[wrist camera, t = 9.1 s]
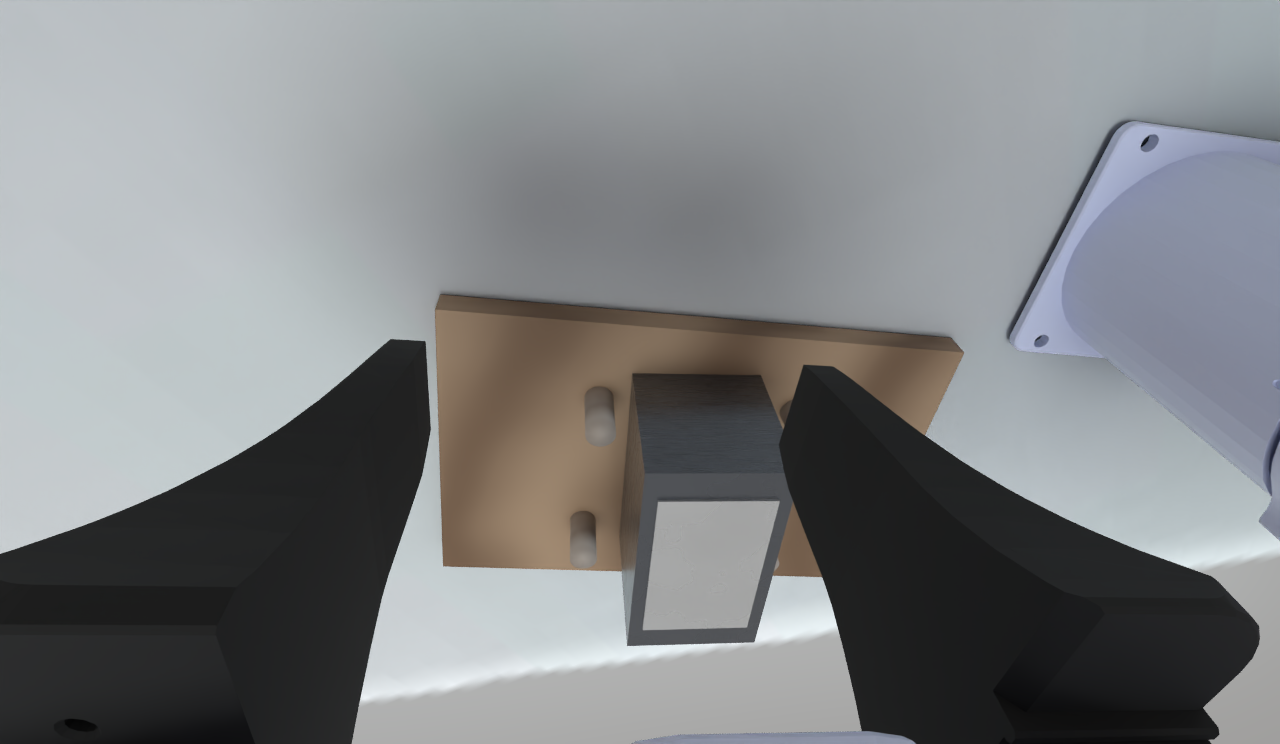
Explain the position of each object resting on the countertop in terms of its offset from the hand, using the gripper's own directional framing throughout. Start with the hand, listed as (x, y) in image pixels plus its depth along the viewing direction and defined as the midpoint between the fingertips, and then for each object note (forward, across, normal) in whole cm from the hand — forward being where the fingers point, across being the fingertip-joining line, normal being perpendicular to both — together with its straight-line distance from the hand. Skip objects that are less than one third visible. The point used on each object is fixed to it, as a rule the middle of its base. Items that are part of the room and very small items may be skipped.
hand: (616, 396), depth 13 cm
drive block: (+8, -4, +9) cm, 13 cm away
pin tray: (+9, -4, +9) cm, 14 cm away
